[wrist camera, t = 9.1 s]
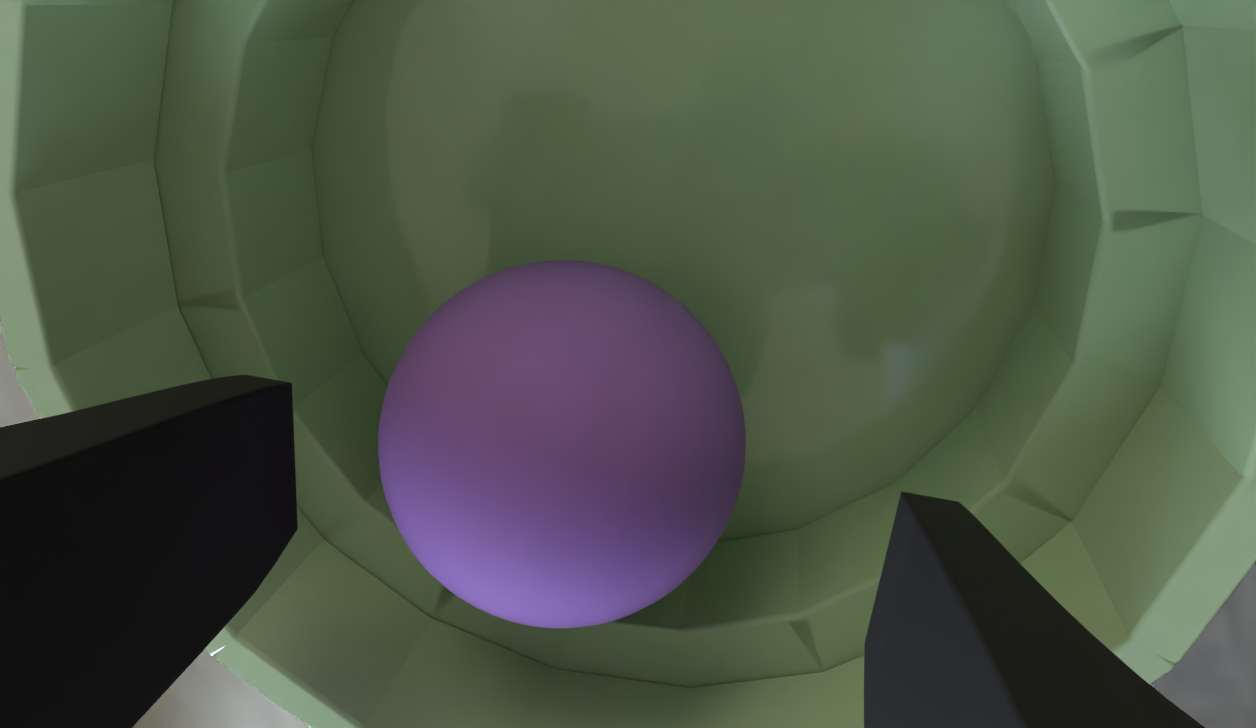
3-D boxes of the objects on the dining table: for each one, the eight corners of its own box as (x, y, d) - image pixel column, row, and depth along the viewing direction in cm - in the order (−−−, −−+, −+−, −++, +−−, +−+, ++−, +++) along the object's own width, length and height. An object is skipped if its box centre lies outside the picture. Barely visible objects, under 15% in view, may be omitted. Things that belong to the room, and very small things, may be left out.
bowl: (1391, -111, 11) (1841, -196, 6) (892, 707, 17) (923, 1000, 12) (338, -484, 12) (-1, -831, 7) (194, 423, 18) (-52, 589, 13)
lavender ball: (805, 294, 14) (804, 433, 9) (691, 551, 16) (643, 770, 11) (501, 176, 14) (354, 258, 10) (424, 445, 16) (273, 617, 12)
